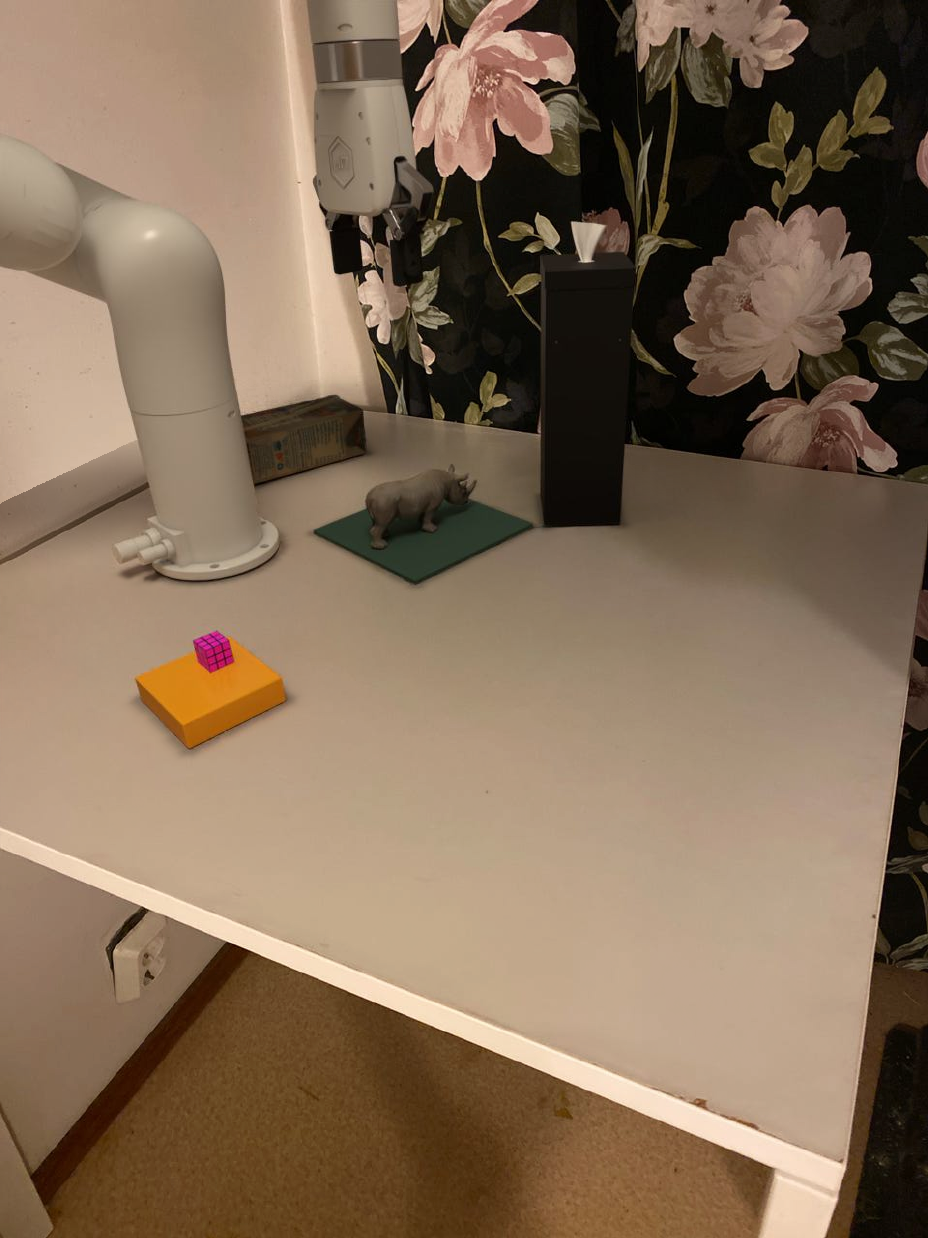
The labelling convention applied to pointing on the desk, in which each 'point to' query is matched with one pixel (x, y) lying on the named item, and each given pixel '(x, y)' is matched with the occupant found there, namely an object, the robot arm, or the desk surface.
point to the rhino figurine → (414, 500)
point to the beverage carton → (303, 436)
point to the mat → (426, 538)
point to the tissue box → (584, 380)
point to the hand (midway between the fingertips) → (377, 277)
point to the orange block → (210, 689)
